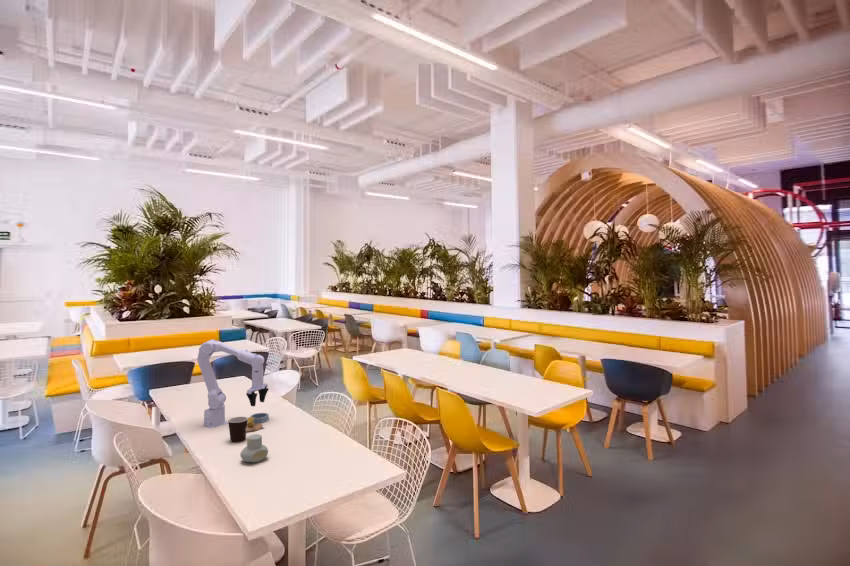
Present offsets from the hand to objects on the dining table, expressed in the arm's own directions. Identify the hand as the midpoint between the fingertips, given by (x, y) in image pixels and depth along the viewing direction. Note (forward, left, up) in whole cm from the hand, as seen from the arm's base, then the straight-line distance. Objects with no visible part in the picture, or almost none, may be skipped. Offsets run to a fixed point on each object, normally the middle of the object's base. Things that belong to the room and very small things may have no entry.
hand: (257, 404), depth 233 cm
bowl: (+2, +1, -10) cm, 10 cm away
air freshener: (-21, -44, -10) cm, 50 cm away
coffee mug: (-16, -17, -10) cm, 26 cm away
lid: (-7, -7, -10) cm, 14 cm away
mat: (-7, -7, -10) cm, 14 cm away
